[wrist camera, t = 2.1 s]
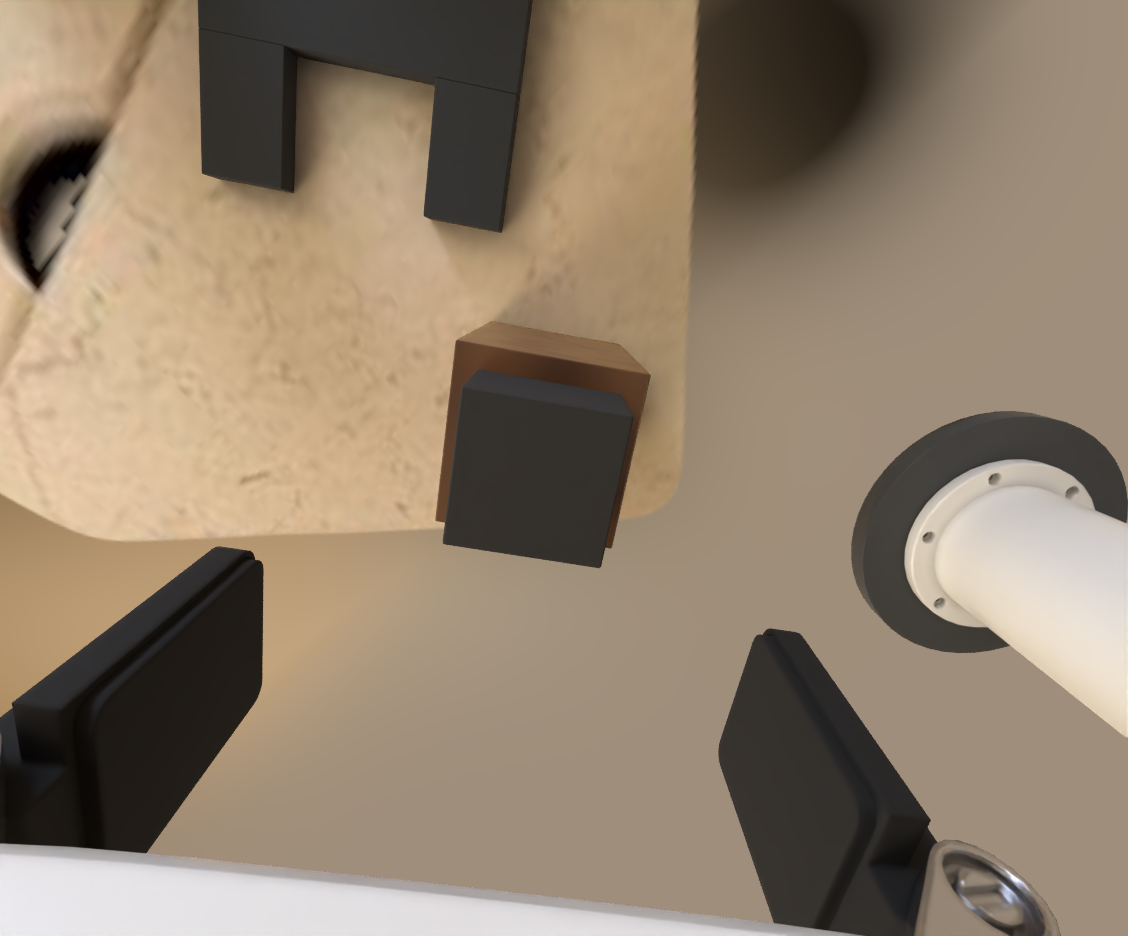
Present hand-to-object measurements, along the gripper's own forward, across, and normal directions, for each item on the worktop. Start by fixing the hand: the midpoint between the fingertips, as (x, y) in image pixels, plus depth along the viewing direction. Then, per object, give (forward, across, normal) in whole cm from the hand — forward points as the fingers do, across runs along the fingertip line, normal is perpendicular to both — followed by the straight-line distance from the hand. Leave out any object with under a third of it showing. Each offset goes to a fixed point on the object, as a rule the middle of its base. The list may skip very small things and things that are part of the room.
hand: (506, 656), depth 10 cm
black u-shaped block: (+26, +12, -16) cm, 33 cm away
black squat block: (+14, 0, 0) cm, 14 cm away
